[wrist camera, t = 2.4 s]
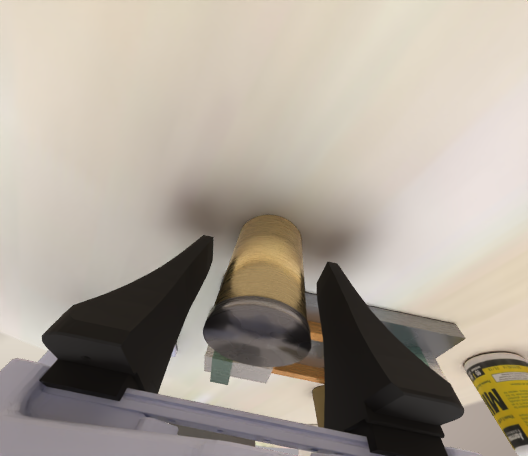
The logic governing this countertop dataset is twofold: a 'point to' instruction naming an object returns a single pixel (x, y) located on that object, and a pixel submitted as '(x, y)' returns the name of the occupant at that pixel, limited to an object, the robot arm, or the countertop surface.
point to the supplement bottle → (504, 393)
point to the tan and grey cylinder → (262, 298)
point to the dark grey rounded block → (212, 435)
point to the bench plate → (312, 366)
